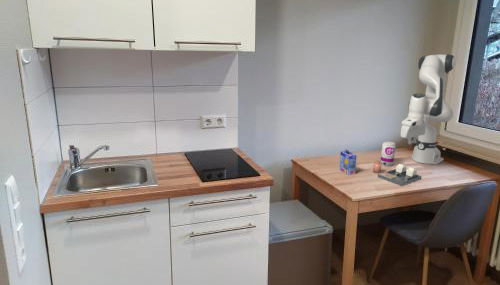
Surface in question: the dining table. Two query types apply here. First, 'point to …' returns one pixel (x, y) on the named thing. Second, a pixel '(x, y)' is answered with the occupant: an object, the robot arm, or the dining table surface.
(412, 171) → the toggle
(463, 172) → the dining table surface
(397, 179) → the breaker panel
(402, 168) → the toggle
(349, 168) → the ink cartridge box
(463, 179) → the dining table surface
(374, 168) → the cap
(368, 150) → the dining table surface
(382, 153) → the supplement can
